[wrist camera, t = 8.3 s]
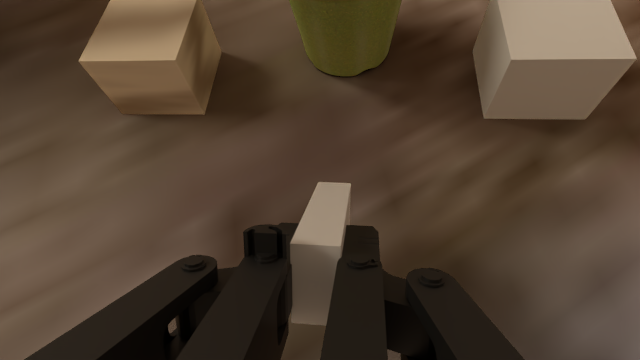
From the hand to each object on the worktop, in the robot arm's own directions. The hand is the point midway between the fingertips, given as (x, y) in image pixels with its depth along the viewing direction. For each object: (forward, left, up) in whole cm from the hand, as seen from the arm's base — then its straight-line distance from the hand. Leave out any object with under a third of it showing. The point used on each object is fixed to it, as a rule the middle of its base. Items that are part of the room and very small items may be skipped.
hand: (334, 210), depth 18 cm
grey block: (+15, +7, -4) cm, 17 cm away
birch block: (-8, +15, -4) cm, 18 cm away
